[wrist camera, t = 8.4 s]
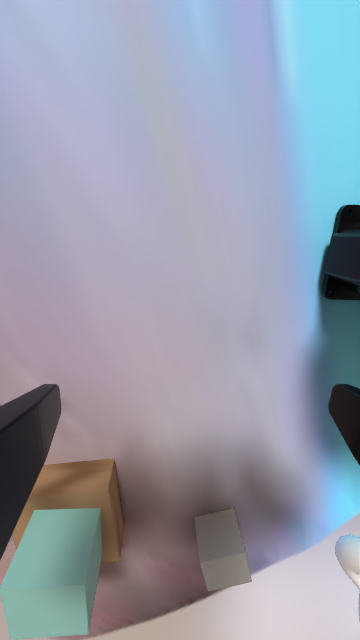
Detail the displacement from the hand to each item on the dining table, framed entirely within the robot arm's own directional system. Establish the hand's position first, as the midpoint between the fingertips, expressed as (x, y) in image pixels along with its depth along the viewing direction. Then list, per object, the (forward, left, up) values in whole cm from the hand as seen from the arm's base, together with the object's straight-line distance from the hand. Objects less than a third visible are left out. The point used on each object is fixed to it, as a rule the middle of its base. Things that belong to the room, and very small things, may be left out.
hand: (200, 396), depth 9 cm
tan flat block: (+9, +19, -12) cm, 24 cm away
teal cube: (+8, +18, -9) cm, 22 cm away
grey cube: (-5, +23, -12) cm, 26 cm away
